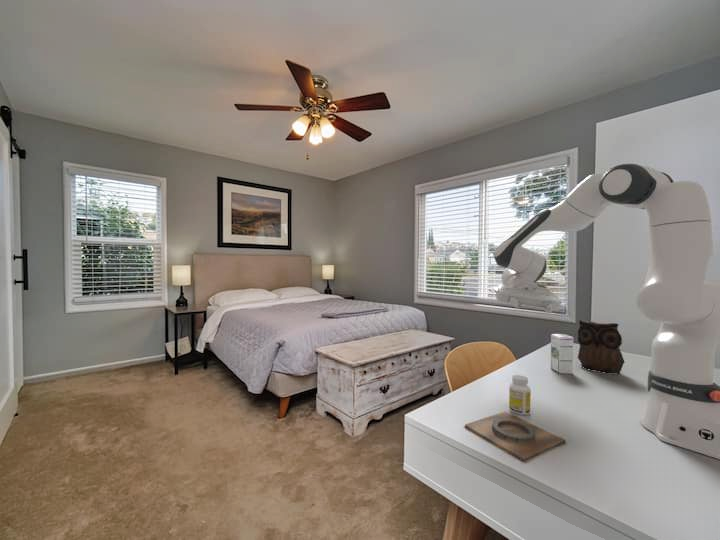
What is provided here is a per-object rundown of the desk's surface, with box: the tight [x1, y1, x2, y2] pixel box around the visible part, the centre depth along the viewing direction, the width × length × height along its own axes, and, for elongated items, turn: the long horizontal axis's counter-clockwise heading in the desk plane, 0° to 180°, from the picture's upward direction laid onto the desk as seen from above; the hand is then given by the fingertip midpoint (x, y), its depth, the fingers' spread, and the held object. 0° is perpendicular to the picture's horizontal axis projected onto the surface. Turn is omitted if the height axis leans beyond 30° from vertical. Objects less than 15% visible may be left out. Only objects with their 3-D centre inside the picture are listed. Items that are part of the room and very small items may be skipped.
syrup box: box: [550, 333, 574, 374], centre depth 124 cm, size 6×6×14 cm
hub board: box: [464, 411, 566, 463], centre depth 76 cm, size 16×16×2 cm
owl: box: [577, 319, 626, 375], centre depth 127 cm, size 13×13×20 cm
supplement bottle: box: [508, 374, 532, 416], centre depth 89 cm, size 5×5×10 cm
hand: (534, 308), depth 100 cm, fingers open, 8 cm apart
